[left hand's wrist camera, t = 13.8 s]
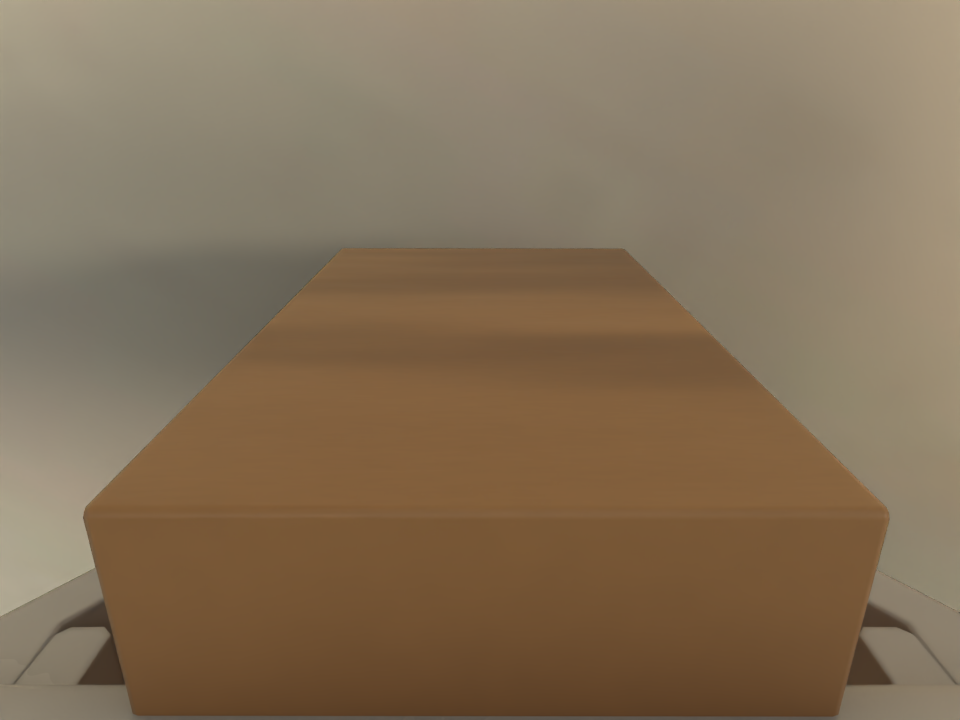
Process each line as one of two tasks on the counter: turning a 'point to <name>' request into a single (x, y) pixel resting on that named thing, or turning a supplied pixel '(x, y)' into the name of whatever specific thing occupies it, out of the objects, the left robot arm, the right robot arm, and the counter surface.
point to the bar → (485, 510)
